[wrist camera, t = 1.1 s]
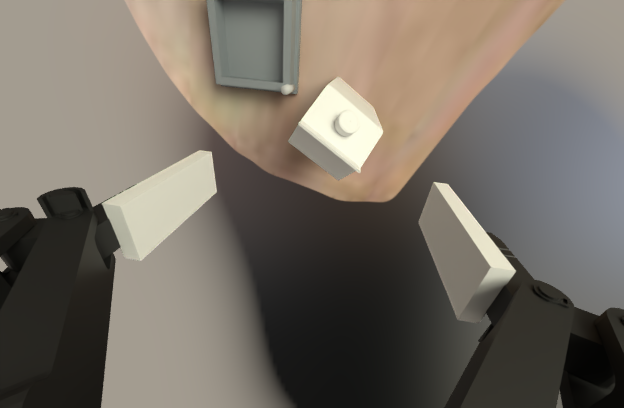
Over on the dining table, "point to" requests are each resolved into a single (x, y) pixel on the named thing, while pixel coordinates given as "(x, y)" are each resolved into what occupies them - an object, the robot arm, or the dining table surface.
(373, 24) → the dining table surface
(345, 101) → the milk carton
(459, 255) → the robot arm
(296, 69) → the seat block
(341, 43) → the dining table surface
